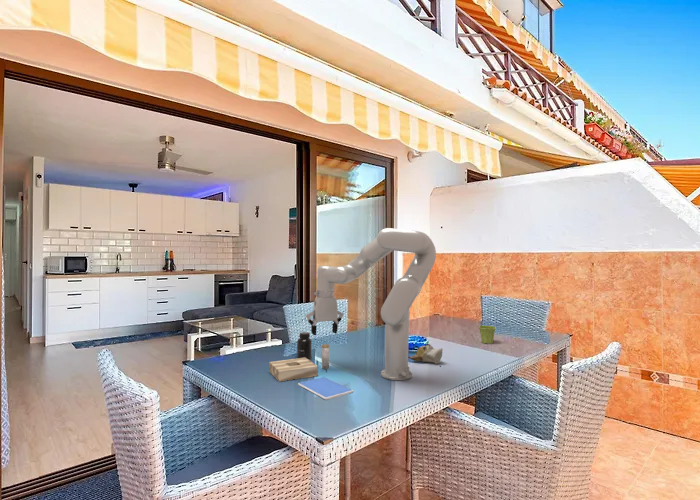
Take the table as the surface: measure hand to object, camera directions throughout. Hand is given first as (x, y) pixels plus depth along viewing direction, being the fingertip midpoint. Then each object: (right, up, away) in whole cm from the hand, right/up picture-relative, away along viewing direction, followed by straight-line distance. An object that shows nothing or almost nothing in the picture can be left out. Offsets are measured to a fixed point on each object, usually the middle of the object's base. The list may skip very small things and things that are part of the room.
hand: (324, 333), depth 167 cm
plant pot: (+88, -16, +48) cm, 102 cm away
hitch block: (-12, -15, -8) cm, 21 cm away
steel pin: (0, -15, 0) cm, 15 cm away
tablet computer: (+2, -16, -24) cm, 29 cm away
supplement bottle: (-10, -15, +14) cm, 23 cm away
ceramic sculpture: (+46, -16, +11) cm, 50 cm away
